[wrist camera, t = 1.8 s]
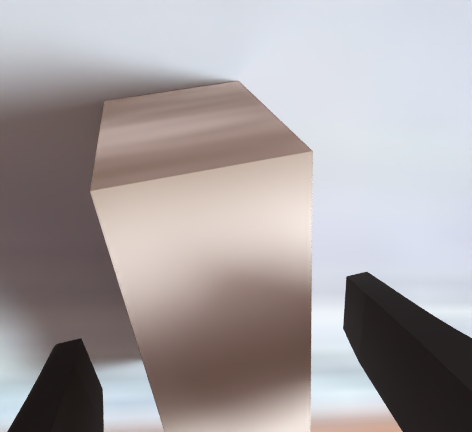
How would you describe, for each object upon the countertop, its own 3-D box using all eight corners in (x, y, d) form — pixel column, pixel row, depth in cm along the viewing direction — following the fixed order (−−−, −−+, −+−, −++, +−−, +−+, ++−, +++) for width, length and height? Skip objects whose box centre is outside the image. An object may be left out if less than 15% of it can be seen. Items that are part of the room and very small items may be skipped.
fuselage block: (259, 332, 18) (309, 468, 13) (169, 354, 18) (187, 505, 13) (237, 79, 13) (312, 151, 8) (104, 99, 12) (89, 191, 7)
